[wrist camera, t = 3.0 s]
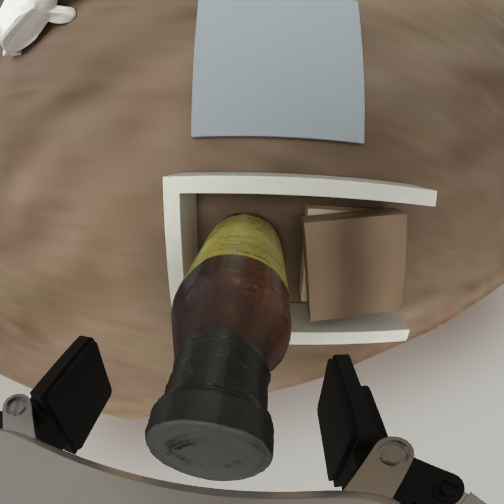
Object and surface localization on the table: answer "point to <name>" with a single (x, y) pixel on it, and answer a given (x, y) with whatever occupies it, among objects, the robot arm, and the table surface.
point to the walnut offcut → (354, 262)
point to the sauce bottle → (225, 355)
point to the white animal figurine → (28, 21)
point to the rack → (189, 183)
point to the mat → (278, 70)
